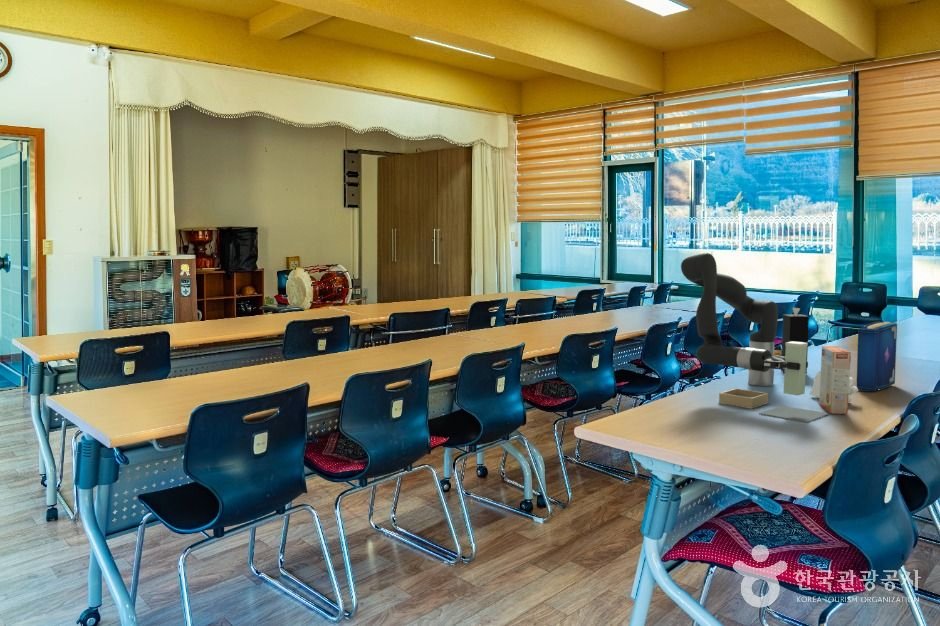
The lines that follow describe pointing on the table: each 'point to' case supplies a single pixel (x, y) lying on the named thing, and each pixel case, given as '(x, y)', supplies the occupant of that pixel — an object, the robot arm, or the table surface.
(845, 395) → the cracker box
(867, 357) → the book
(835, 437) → the table surface
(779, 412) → the mat
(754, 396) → the wooden square frame
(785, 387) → the tea tin
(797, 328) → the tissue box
